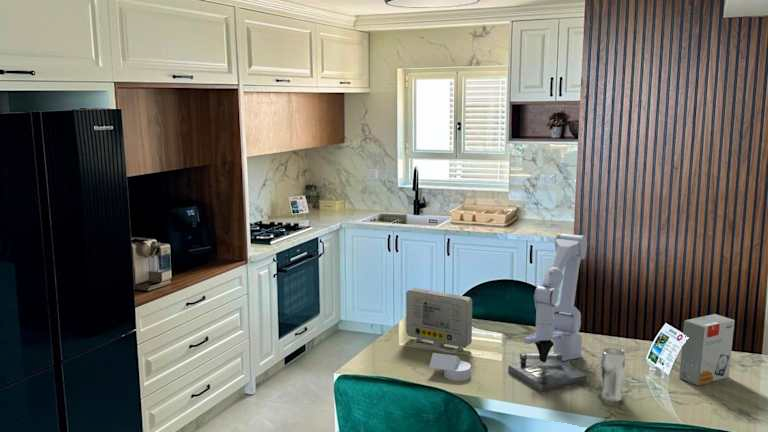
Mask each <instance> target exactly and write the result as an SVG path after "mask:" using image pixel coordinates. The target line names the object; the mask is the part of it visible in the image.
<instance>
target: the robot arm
mask: <svg viewBox="0 0 768 432" xmlns="http://www.w3.org/2000/svg"><path fill="white" fill-rule="evenodd" d="M554 247H555V251H556V253H555V256H554V259H553V263H552V266H551V267H550V268H548V269H546V272H545V274H544V275H543V279H542V281H541V284H540V285H539V286H537V287H536V288H535V290H534V295H533V299H534V300H533V301H534V308H535V310H536V313H535V316H536V317H535V331H534V333H532V334H530V335H528V336H525V337H524V341H523V342H524V344H526V345H531V344H535V347H536V348H537V351H538V354H539V355H540V361H542V362H544V363H545V362H546V360H547V355H548V354H556V352H558V353H561V354H562V360H560V361H562V362H565V361H570V360H574V359H579V358H583V354H582V346H583V345H582V344H583V343H582V342H583V339H582V338H583V337H582V334H581V333H580V332H579V331H580V330H581V325H582V320H581V319H582V314H581V312H580V310H578V308H577V307H576V306H575V301H576V293H577V292H576V291H577V285H578V278H579V271H580V270H579V269H580V265H581V260H584V259H585V258H586V255H587V250H588V238H587V237H586V235H585V234H581V235H579V234H573V233H572V234H571V233H563V232H558V234H556V236H555V238H554ZM563 272H564V273H563ZM561 284H562V285H561ZM560 286H561V293H560V290H559V289H560ZM559 293H560V300H559V304H558V305H557V302H558V299H559ZM552 347H553V349H552ZM551 349H552V350H553V351H551Z"/></svg>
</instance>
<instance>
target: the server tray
mask: <svg viewBox="0 0 768 432" xmlns="http://www.w3.org/2000/svg"><path fill="white" fill-rule="evenodd" d="M507 368H508V369H507V372H508V373H509V374H510V375H512V376H514V377H515V378H517V379H519V380H520V381H522V382H523V383H524V384H527V386H530V387H532V388H534V389H535V390H537V391H538V392H540V393H541V394H544V393H547V392H551V391H556V390H560V389H564V388H569V387H573V386H577V385H581V384H585V383H587V382H588V374H586V373H584V372H582V371H581V370H578V369H577V368H574V367H573V366H571V365H570V364H567V363H566V362H564V361H561V360H551V359H547V360H546V362H545V363H544V362H542V361H540V359H529V360H527V359H526V360H522V359H520V362H517V363H512V364H508V366H507Z"/></svg>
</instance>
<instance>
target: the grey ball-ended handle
mask: <svg viewBox="0 0 768 432" xmlns="http://www.w3.org/2000/svg"><path fill="white" fill-rule="evenodd" d="M519 359H520V360H521V359H522V360H526V361H527V360H535V359H540V355H539V353H526V352H521V353H519ZM547 359H551V360H560V361H561V360H562V354H561V353H558V352H556V354H548V355H547Z"/></svg>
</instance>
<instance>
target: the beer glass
mask: <svg viewBox="0 0 768 432" xmlns="http://www.w3.org/2000/svg"><path fill="white" fill-rule="evenodd" d="M601 353H602V354H601V361H600V369H601V378H602V390H601V394H600V398H601V399H602V400H604V401H606V402H610V403H618V402H620V401H622V399H623V396H622V395H623V394H622V385H623V384H622V383H623V380H624V376H625V371H626V352H625V350H623V349H621V348H618V347H605V348H603V349H602V352H601Z"/></svg>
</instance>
